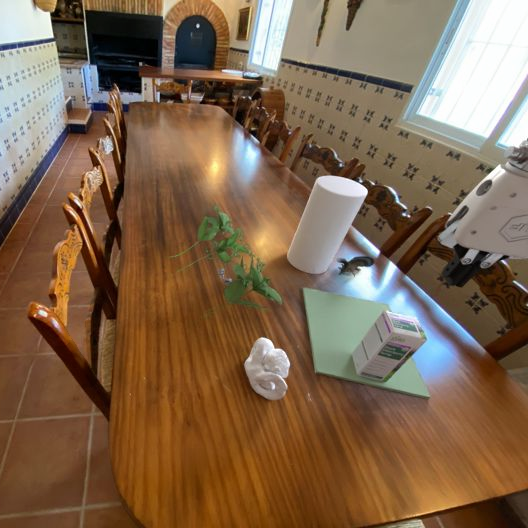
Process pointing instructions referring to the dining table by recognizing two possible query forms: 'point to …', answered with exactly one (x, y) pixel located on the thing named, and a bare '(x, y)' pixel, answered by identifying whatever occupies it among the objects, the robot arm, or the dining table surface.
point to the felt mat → (351, 340)
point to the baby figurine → (267, 369)
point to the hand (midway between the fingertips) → (450, 280)
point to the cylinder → (325, 223)
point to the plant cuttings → (236, 286)
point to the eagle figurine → (355, 264)
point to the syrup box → (388, 345)
